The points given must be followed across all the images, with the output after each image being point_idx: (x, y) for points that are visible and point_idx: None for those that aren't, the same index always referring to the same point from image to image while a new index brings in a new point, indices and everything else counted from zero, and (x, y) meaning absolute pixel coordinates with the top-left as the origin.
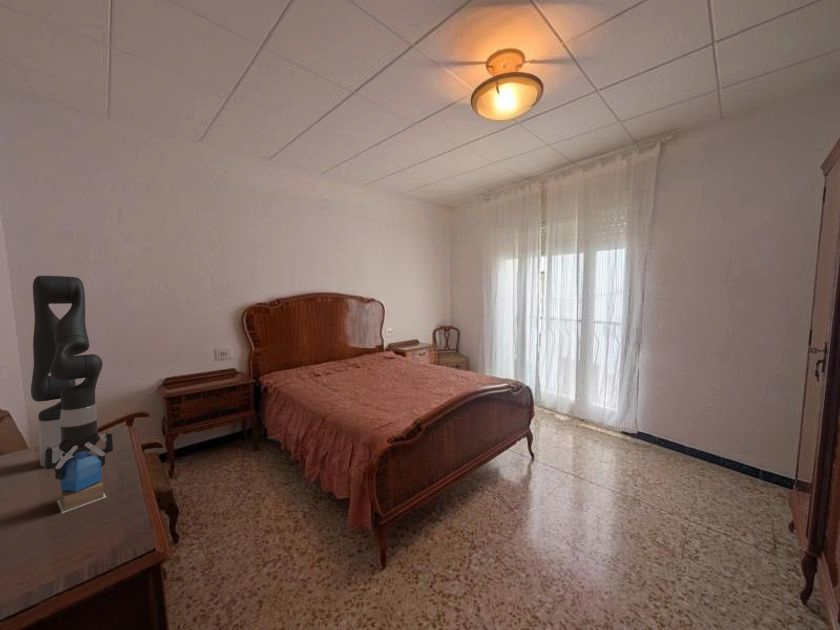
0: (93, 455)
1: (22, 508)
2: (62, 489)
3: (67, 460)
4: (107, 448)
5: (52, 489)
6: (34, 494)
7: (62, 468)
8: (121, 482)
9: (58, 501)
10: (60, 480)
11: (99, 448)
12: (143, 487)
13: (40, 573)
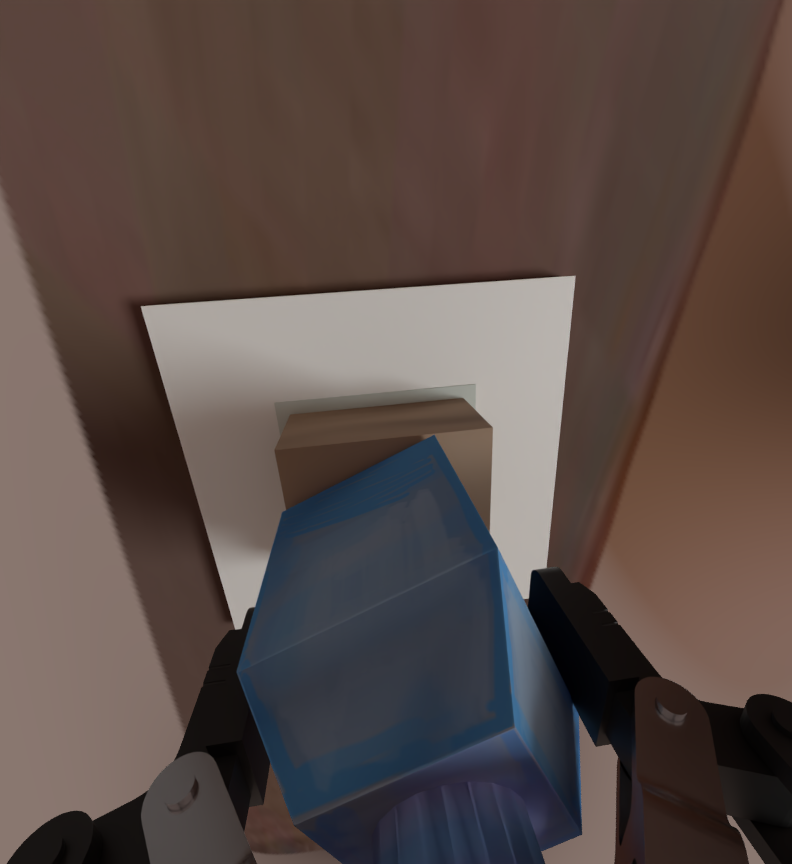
0: (571, 825)
1: (100, 271)
2: (292, 494)
3: (298, 814)
4: (762, 858)
5: (227, 48)
6: (112, 29)
7: (261, 796)
8: (570, 363)
9: (282, 418)
10: (268, 561)
11: (714, 814)
12: (609, 514)
13: (273, 805)
